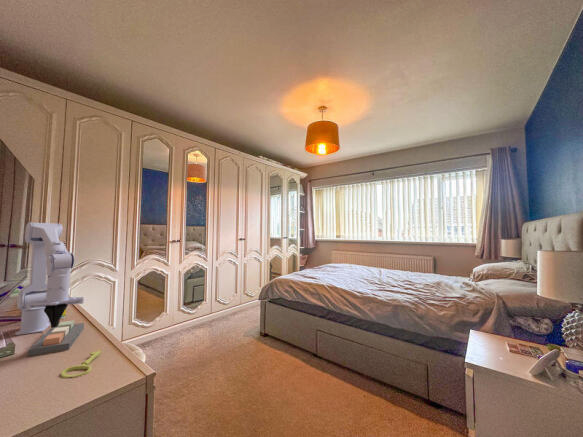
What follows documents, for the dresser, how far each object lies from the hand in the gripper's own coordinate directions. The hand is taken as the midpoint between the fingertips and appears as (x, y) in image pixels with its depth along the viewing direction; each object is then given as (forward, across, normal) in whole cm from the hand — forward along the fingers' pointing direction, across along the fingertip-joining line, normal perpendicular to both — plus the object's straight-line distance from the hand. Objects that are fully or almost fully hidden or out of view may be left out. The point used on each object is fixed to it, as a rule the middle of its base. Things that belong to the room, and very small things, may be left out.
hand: (54, 326), depth 83 cm
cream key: (+6, 0, +7) cm, 9 cm away
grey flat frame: (+8, 0, +7) cm, 10 cm away
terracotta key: (+6, 0, 0) cm, 6 cm away
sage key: (+6, 0, +13) cm, 14 cm away
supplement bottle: (+8, -8, +35) cm, 36 cm away
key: (+8, +12, -18) cm, 23 cm away
